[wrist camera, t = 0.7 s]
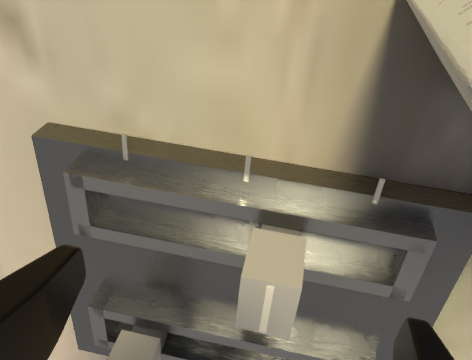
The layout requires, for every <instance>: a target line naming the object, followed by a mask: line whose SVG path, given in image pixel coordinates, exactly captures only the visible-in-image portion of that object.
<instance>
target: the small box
mask: <svg viewBox="0 0 472 360" xmlns="http://www.w3.org/2000/svg"><path fill="white" fill-rule="evenodd" d="M406 1H407V2H408V4H409V6H410V8H411V9H412V11H413V13H414V15H415V17H416V18H417V20H418V22H419V24H420V26H421V27H422V29H423V31H424V33H425V34H426V36H427V38H428V40H429V41H430V43H431V45H432V47H433V48H434V50H435V52H436V54H437V56H438V57H439V59H440V61H441V62H442V64H443V66H444V67H445V69H446V71H447V72H448V74H449V76H450V77H451V79H452V80H453V82H454V84H455V85H456V87H457V89H458V90H459V92H460V94H461V95H462V97H463V98H464V100H465V102H466V103H467V105H468V106H469V108H470V110H471V111H472V0H406Z"/></svg>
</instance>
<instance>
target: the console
mask: <svg viewBox="0 0 472 360" xmlns="http://www.w3.org/2000/svg"><path fill="white" fill-rule="evenodd" d="M32 141H33V145H34V150H35V154H36V159H37V163H38V168H39V172H40V177H41V181H42V186H43V190H44V195H45V199H46V204H47V208H48V213H49V217H50V222H51V226H52V231H53V236H54V240H55V245H56V248H57V247H59V246H61V245H63V244H67V245H72V246H77V247H80V248H81V249H82V251H83V256H84V263H85V269H86V278H85V281H84V284H83V286H82V288H81V291H80V293H79V295H78V297H77V300H76V302H75V304H74V306H73V309H72V311H71V317H72V321H73V326H74V330H75V335H76V340H77V344H78V349H80V350H84V351H88V352H93V353H97V354H101V355H105V356H109V354H110V352H111V350H112V348H113V346H114V344H115V342H116V340H117V338H118V336H119V334H120V332H121V330H125V331H130V332H131V331H132V329H133V327H134V325H137V326H141V327H146V328H150V329H155V330H159V331H163V332H167V338H166V341H165V343H164V346H163V349H162V351H161V360H393V346H394V342H395V339H396V337H397V335H398V333H399V331H400V329H401V327H402V324H403V322H404V321H405V319H406V318H408V317H411V318H416V319H420V320H425V321H427V322H428V323H429V324H430V325H431V326H432V327H433V325H434V323H435V321H436V319H437V317H438V315H439V314H440V312H441V310H442V308H443V306H444V304H445V302H446V301H447V299H448V297H449V295H450V293H451V291H452V289H453V288H454V286H455V284H456V282H457V280H458V278H459V276H460V275H461V273H462V271H463V269H464V267H465V265H466V263H467V262H468V260H469V258H470V256H471V254H472V195H470V194H465V193H459V192H453V191H447V190H441V189H435V188H429V187H424V186H418V185H412V184H406V183H400V182H394V181H388V180H385V178H379V179H377V178H371V177H365V176H359V175H353V174H347V173H342V172H336V171H330V170H324V169H318V168H312V167H306V166H300V165H295V164H289V163H283V162H277V161H271V160H265V159H259V158H254V157H251V156H249V155H246V156H242V155H236V154H230V153H224V152H218V151H213V150H207V149H201V148H195V147H189V146H183V145H177V144H172V143H166V142H160V141H154V140H148V139H142V138H136V137H130V136H127V135H126V134H122V135H119V134H113V133H107V132H101V131H95V130H89V129H84V128H78V127H72V126H66V125H60V124H54V123H46V124H45V125H44V126H43V127H42V128H40V129H39V130H38V131H37V132H35V133H34V134H33V135H32ZM262 223H265V224H270V225H276V226H281V227H286V228H292V229H297V230H300V232H299V236H300V237H306V238H307V242H306V252H305V263H304V273H303V284H302V291H301V295H300V299H299V303H298V308H297V312H296V316H295V320H294V324H293V328H292V332H291V336H290V339H285V338H281V337H276V336H272V335H267V334H262V333H258V332H253V331H249V330H244V329H240V328H235V322H236V314H237V305H238V297H239V289H240V280H241V274H242V271H243V267H244V263H245V259H246V255H247V251H248V247H249V243H250V239H251V235H252V231H253V228H258V229H261V227H262Z"/></svg>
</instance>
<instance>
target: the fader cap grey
mask: <svg viewBox="0 0 472 360" xmlns="http://www.w3.org/2000/svg"><path fill="white" fill-rule="evenodd" d="M299 232H300V230H297V229H292V228H286V227H281V226H276V225H270V224H265V223H262V227H261V229H258V228H253V231H252V235H251V239H250V243H249V247H248V251H247V255H246V259H245V263H244V267H243V271H242V274H241V280H240V289H239V297H238V305H237V314H236V322H235V328H240V329H244V330H249V331H253V332H258V333H262V334H267V335H272V336H276V337H281V338H285V339H290V336H291V332H292V328H293V324H294V320H295V316H296V312H297V308H298V303H299V299H300V295H301V291H302V284H303V273H304V263H305V252H306V242H307V238H306V237H300V236H299Z"/></svg>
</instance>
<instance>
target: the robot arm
mask: <svg viewBox="0 0 472 360" xmlns="http://www.w3.org/2000/svg"><path fill="white" fill-rule="evenodd" d="M85 278H86V269H85V263H84V256H83V251H82V249H81V248H80V247H77V246H72V245H67V244H63V245H61V246H59V247H57V248H55V249H53V250H52V251H50V252H48V253H46V254H45V255H43V256H41V257H40V258H38V259H36V260H34V261H33V262H31V263H29V264H27V265H26V266H24V267H22V268H20V269H19V270H17V271H15V272H13V273H12V274H10V275H8V276H7V277H5V278H3V279H1V280H0V360H47V359H48V358H49V356H50V354H51V353H52V351H53V349H54V347H55V345H56V343H57V342H58V339H59V337H60V335H61V333H62V331H63V329H64V326H65V324H66V322H67V320H68V317H69V315H70V313H71V311H72V309H73V306H74V304H75V302H76V300H77V297H78V295H79V293H80V291H81V288H82V286H83V284H84V281H85ZM393 360H454V358H453V357H452V355H451V354H450V352H449V351H448V350H447V348H446V347H445V345H444V344H443V342H442V341H441V339H440V338H439V337H438V335H437V334H436V332H435V331H434V329H433V328H432V326H431V325H430V324H429V323H428V322H427V321H425V320H420V319H416V318H411V317H408V318H406V319H405V321H404V322H403V324H402V327H401V329H400V331H399V333H398V335H397V337H396V339H395V342H394V346H393Z"/></svg>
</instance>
